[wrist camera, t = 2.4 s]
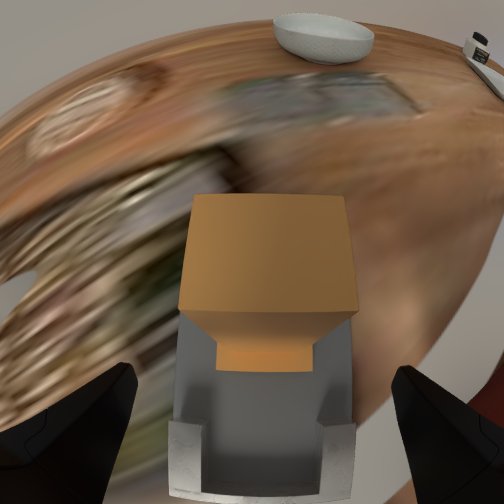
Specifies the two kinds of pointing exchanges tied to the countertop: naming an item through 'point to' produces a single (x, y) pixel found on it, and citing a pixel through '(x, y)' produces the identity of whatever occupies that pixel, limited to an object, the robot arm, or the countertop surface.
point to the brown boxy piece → (268, 276)
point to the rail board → (262, 406)
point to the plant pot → (491, 399)
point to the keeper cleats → (260, 494)
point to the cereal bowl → (323, 38)
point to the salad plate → (489, 77)
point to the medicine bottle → (477, 48)
